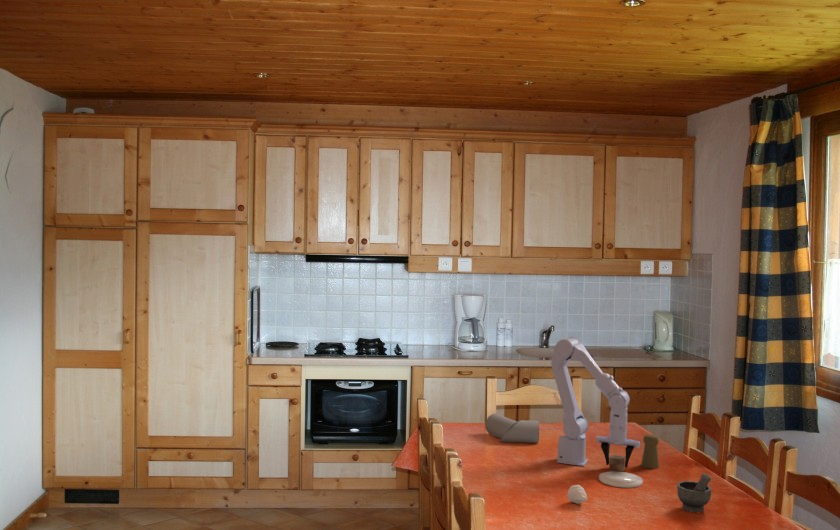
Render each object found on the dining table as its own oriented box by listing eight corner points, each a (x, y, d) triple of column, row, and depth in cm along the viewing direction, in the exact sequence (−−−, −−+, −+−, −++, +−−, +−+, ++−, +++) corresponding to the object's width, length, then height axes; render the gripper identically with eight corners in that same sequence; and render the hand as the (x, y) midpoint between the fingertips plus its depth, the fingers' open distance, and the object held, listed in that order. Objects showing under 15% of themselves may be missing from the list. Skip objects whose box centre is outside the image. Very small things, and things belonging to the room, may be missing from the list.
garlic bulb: (577, 509, 228) (578, 490, 228) (565, 502, 234) (566, 484, 234) (592, 506, 231) (593, 488, 230) (580, 500, 236) (581, 482, 236)
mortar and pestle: (669, 504, 234) (671, 465, 233) (695, 502, 237) (697, 463, 236) (693, 518, 223) (695, 477, 223) (720, 515, 226) (722, 474, 226)
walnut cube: (609, 470, 267) (609, 457, 267) (611, 467, 271) (611, 454, 271) (622, 472, 265) (623, 459, 265) (624, 469, 269) (624, 456, 269)
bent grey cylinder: (486, 441, 296) (539, 443, 295) (487, 413, 298) (539, 415, 297) (484, 439, 313) (534, 441, 312) (484, 413, 315) (534, 414, 314)
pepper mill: (659, 469, 270) (661, 437, 270) (641, 467, 271) (643, 436, 271) (658, 464, 276) (659, 433, 275) (640, 462, 277) (641, 432, 277)
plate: (595, 483, 252) (595, 480, 252) (602, 471, 265) (602, 468, 265) (639, 490, 247) (640, 486, 247) (645, 477, 260) (645, 474, 260)
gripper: (595, 426, 267) (593, 465, 267) (638, 431, 261) (637, 471, 262) (598, 422, 273) (597, 460, 274) (641, 427, 268) (639, 466, 268)
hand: (616, 465), depth 268 cm, fingers open, 6 cm apart
